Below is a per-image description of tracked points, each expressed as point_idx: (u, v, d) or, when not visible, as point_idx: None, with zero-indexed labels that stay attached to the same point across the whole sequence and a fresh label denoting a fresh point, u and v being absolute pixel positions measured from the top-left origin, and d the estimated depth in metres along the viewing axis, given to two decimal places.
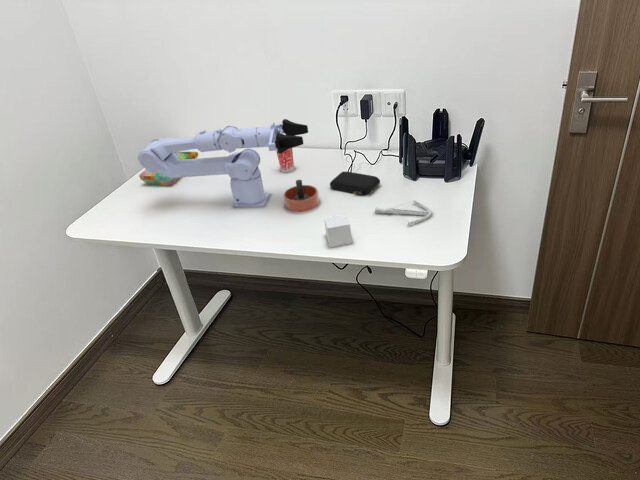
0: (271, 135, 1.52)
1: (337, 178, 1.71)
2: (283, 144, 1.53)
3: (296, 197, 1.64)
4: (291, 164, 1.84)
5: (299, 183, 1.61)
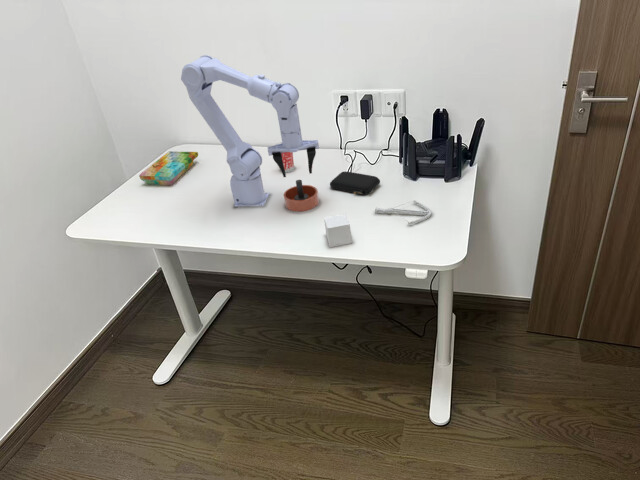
0: (280, 150, 1.53)
1: (337, 178, 1.71)
2: None
3: (296, 197, 1.64)
4: (291, 164, 1.84)
5: (299, 183, 1.61)
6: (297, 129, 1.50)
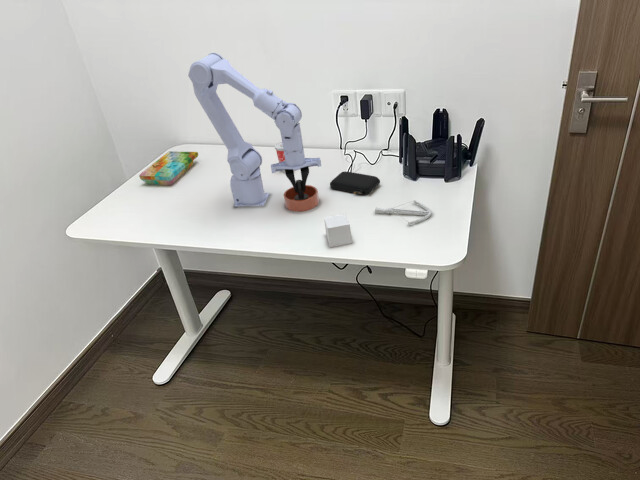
0: (284, 168, 1.56)
1: (337, 178, 1.71)
2: None
3: (296, 197, 1.64)
4: None
5: (299, 183, 1.61)
6: (300, 147, 1.53)
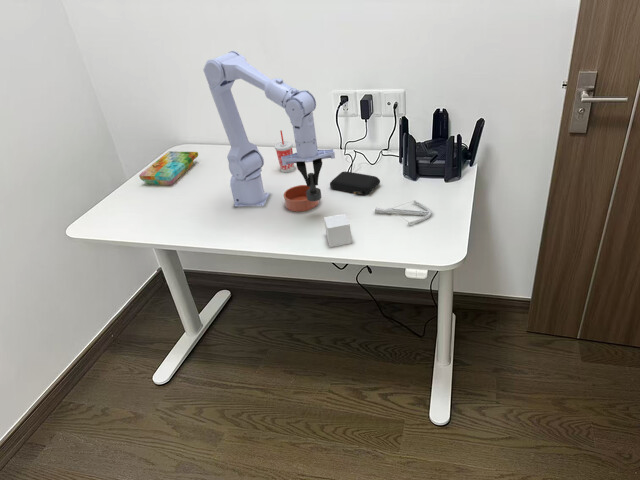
0: (295, 160, 1.46)
1: (337, 178, 1.71)
2: None
3: (308, 191, 1.54)
4: (291, 164, 1.84)
5: (311, 176, 1.51)
6: (311, 139, 1.43)
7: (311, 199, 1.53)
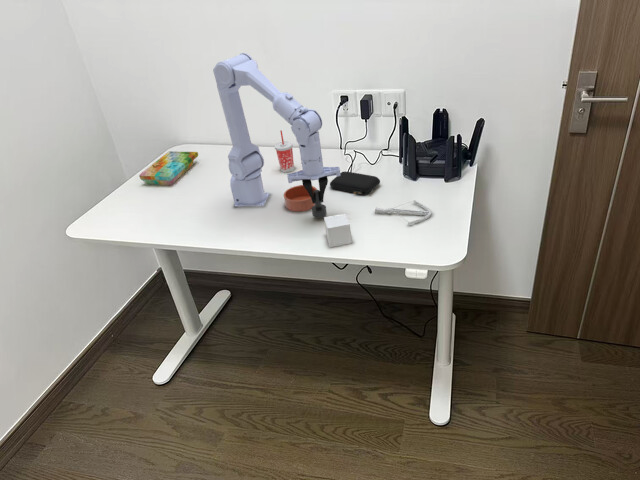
0: (301, 178, 1.47)
1: (337, 178, 1.71)
2: None
3: (313, 208, 1.55)
4: (291, 164, 1.84)
5: (317, 193, 1.52)
6: (316, 157, 1.44)
7: (316, 216, 1.55)
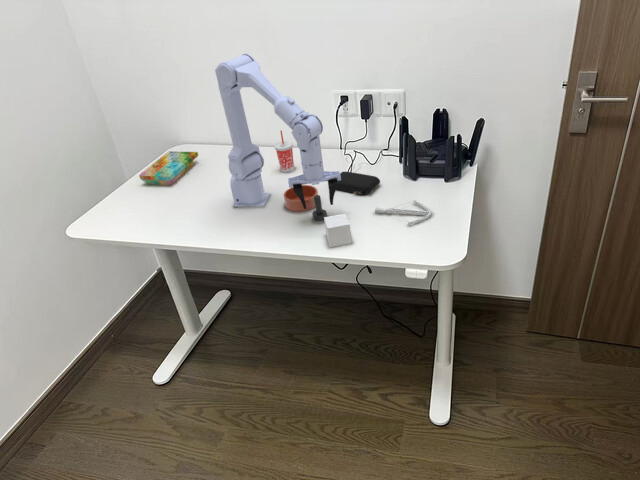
0: (302, 182, 1.48)
1: None
2: None
3: (314, 213, 1.56)
4: (291, 164, 1.84)
5: (318, 199, 1.53)
6: (317, 162, 1.45)
7: (317, 221, 1.56)
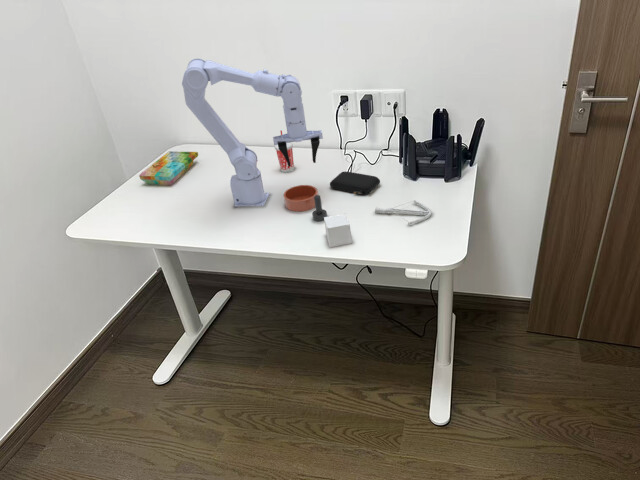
0: (286, 140, 1.58)
1: (337, 178, 1.71)
2: None
3: (314, 213, 1.56)
4: (291, 164, 1.84)
5: (318, 199, 1.53)
6: (304, 118, 1.56)
7: (317, 221, 1.56)
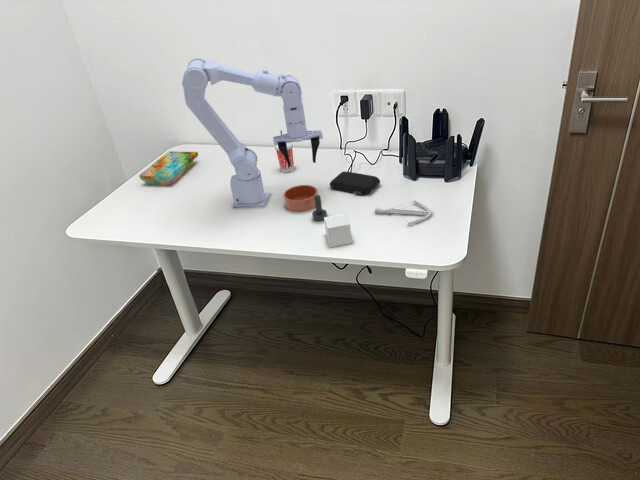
0: (286, 140, 1.58)
1: (337, 178, 1.71)
2: None
3: (314, 213, 1.56)
4: (291, 164, 1.84)
5: (318, 199, 1.53)
6: (304, 118, 1.56)
7: (317, 221, 1.56)
